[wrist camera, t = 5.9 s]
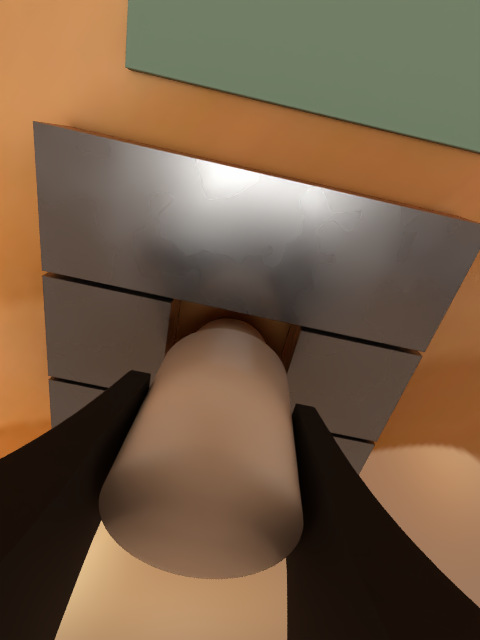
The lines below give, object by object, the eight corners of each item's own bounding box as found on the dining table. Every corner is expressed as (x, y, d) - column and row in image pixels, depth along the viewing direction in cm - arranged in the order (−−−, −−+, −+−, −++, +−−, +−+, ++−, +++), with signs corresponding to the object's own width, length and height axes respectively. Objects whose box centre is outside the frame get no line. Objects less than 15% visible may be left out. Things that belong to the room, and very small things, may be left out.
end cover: (297, 315, 13) (332, 472, 7) (268, 405, 15) (274, 592, 9) (181, 290, 13) (100, 427, 6) (168, 385, 15) (97, 560, 9)
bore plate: (457, 216, 12) (492, 226, 10) (331, 476, 18) (339, 511, 16) (68, 126, 12) (33, 121, 10) (74, 426, 18) (53, 456, 16)
